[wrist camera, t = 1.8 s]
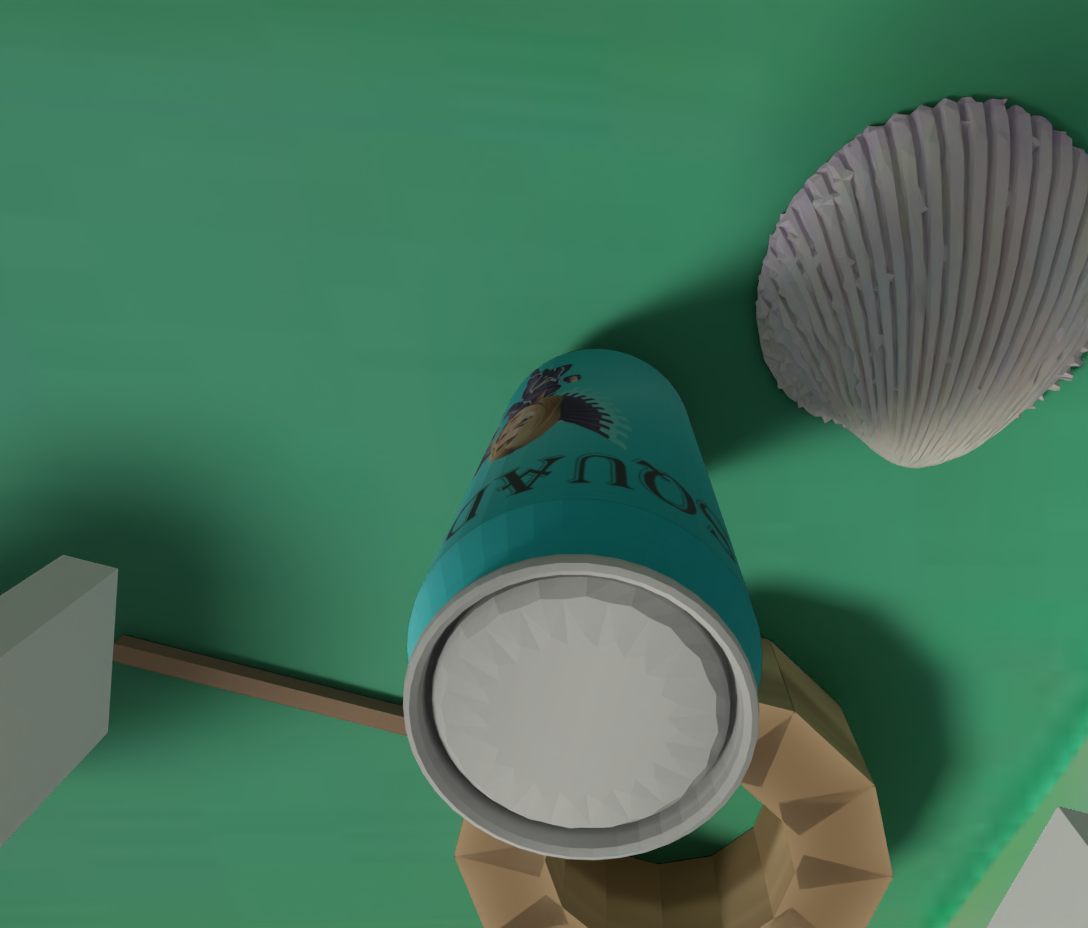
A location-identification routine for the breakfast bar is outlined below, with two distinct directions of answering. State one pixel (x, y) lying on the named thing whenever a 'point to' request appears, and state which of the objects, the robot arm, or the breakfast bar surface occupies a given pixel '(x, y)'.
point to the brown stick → (259, 684)
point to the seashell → (931, 279)
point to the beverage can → (586, 625)
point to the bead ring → (742, 866)
